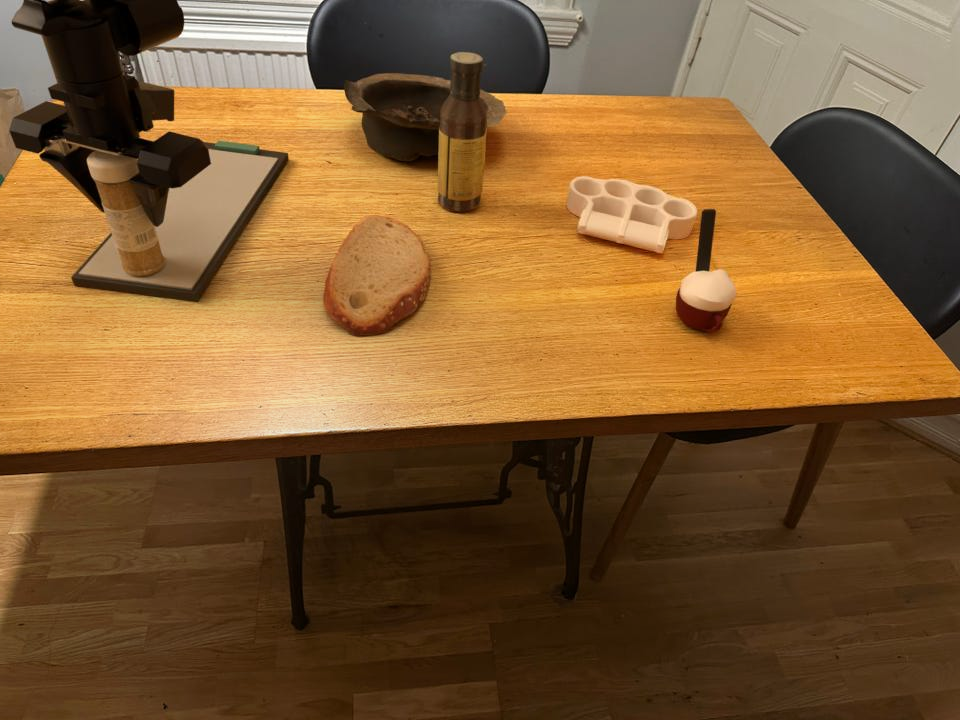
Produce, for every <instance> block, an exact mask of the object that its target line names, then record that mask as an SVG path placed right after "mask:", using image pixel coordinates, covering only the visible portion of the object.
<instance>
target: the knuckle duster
mask: <svg viewBox="0 0 960 720" xmlns="http://www.w3.org/2000/svg"><path fill="white" fill-rule="evenodd" d="M565 206H566V209H567V210H568V211H569V212H570V213H571V214H573V215H574V216H576V217H579V221H578V224H577V227H576V233H578V234H581V235H586V236H589V237H595V238H597V239H602V240H606V241H611V242H614V243H617V244H623V245H626V246H630V247H634V248H638V249H642V250H646V251H649V252H653V253H657V254H663V252H664V250H665V247H666V243H667V241H668V240H683V239H685V238H687V237H689V236H690V235H691V233H692V230H693V228H694V224H695V223H696V219H697V216H698V208H697V207H696V204H694V203H693V202H692V201H690V200H688V199H686V198H681V197H677V196H673V195H670V194H668V193H667V192H665V191H663V190H662V189H660V188H657V187H655V186H652V185H647V184H638V183H635V182H631V181H629V180H627V179H620V178H610V179H602V178H595V177H591V176H589V175H582V176H577V177H575V178H573V179H572V180H571V181H570V182H569V186H568V191H567V196H566V201H565Z"/></svg>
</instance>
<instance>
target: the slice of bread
mask: <svg viewBox="0 0 960 720" xmlns="http://www.w3.org/2000/svg"><path fill="white" fill-rule="evenodd" d="M425 251H426V250H425V245H424V242H423V241H422V239H421V238H420V236H419V235H418V234H417V233H416V232H414V230H412V228H411V227H409V226H408V225H406V224H404V223H403V222H401V221H400V220H397V219H394V218H391V217H389V216H388V217H387V216H383V215H379V214H370V215H365V216H363V217H362V218H361V219H360V220H358V221H357V223H355V224H354V226H352V229H351V230H350V231H349V233H348V235H347V236H346V237H345V239H344V241H343V242H342V244H341V246H340V247H339V249H338V251H337V253H336V255H335V257H334V258H333V261H332V263H331V264H330V267H329V269H328V273H327V276H326V279H325V282H324V289H323V290H324V291H323V295H322V297H323V298H322V299H323V301H322V302H323V307H324V310H325V311H326V312H327V314H328V316H329V317H330V318H331V319H332V320H333V321H334V322H335V323H336V324H337V325H339V326H341V327H342V328H344V330H346V331H347V332H348V333H349V334H351V335H354V336H359V337H360V336H367V335H379V334H384V333H386V332H388V330H390V328H391V327H392V326H394V325H395V324H396V323H398V322H400V321H401V320H403V319H405V318H407V317H409V316H411V315H412V314H413V313H415V311H416V310H418V308H419V307H420V306H421V304H422V303H423V302H424V299H425V297H426V296H427V292H428V288H429V285H430V282H431V273H432V267H431V260H430V257H429V256H428V255H427V254H426V252H425Z"/></svg>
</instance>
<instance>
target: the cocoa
mask: <svg viewBox="0 0 960 720" xmlns="http://www.w3.org/2000/svg"><path fill="white" fill-rule="evenodd" d="M716 215H717V210H716V209H715V208H705V209H703V210H702V211H701V217H700V224H699V225H700V226H699V235H698V245H697V254H696V263H695V270H694V271H692V272H691V273H689V274H688V275H686V276H684V277H683V278H682V279H681V283H680V285H679V288H678V290H677V293H676V296H675V311H676V315H677V317H678V319H679V321H680V322H682V323H683V324H684V325H685V326H687V327H689V328H691V329H694V330H699V331H705V332H708V333H714V332H719V331H720V330H721V329H722V326H723V321H725V319H726V317H727V316H728V314H729V312H730V310H731V307H732V305H733V303H734V302H735V299H736V298H737V296H738V291H737V290H736V287H735V286H736V285H735V282H734V280H733V279H732V278H731V277H730V276H729V274H728V272H727V270H726V269H721V268H718V269H714V270H711V271H710V269H711V261H712V253H713V243H714V242H713V241H714V232H715V224H716Z"/></svg>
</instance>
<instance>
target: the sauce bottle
mask: <svg viewBox="0 0 960 720" xmlns="http://www.w3.org/2000/svg"><path fill="white" fill-rule="evenodd" d="M449 68H450V80H451V86H450V95H449V97H448V98H447V100H446V101H445V103H444V104H443V106H442V108H441V112H440V127H439V154H437V155H438V158H437V159H438V160H437V193H438V196H437V202H438V204H439V205H440V206H441V207H442V208H444V209H445V210H447V211H450V212H455V213H456V212H457V213H464V212H469V211H472V210H474V209H477V208H478V207H479V206H480V204H481V197H482V193H483V187H484V175H485V164H486V163H485V162H486V149H487V134H488V127H487V112H486V109H485V106H484V104H483V102H482V101H481V99H480V97H479V96H480V90H481V76H482V72H483V69H484V59H483V57H482V55H479V54H478V53H475V52H469V51H467V52H466V51H458V52H455V53H453V54H451V55H450V58H449Z"/></svg>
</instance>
